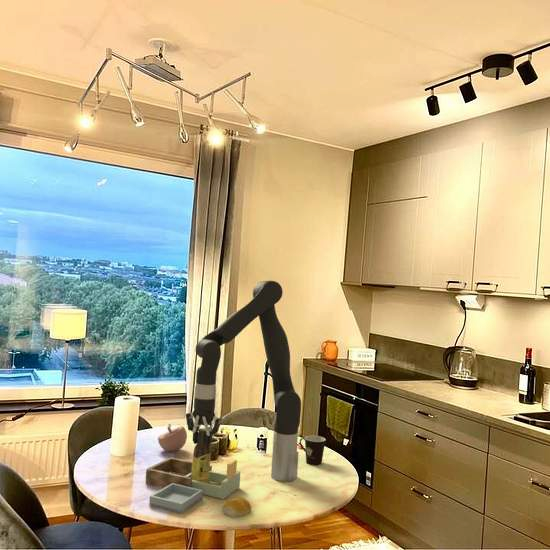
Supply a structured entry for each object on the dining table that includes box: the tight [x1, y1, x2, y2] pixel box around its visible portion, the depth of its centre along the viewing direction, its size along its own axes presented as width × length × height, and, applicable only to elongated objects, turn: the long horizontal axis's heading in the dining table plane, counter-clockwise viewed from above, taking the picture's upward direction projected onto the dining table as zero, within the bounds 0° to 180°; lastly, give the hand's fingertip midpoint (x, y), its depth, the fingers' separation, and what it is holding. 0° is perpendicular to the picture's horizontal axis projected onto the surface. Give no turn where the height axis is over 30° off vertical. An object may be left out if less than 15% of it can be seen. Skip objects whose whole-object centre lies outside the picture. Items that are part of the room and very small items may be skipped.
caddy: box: [185, 459, 241, 500], centre depth 183 cm, size 17×12×10 cm
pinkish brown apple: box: [157, 423, 188, 453], centre depth 221 cm, size 12×12×12 cm
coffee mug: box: [299, 435, 327, 467], centre depth 218 cm, size 12×9×10 cm
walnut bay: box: [145, 457, 213, 489], centre depth 188 cm, size 18×15×5 cm
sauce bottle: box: [191, 427, 212, 484], centre depth 185 cm, size 7×6×20 cm
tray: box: [148, 483, 204, 515], centre depth 170 cm, size 12×13×3 cm
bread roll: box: [221, 497, 252, 518], centre depth 166 cm, size 8×9×4 cm
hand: (201, 444), depth 185 cm, fingers closed on sauce bottle, 4 cm apart
